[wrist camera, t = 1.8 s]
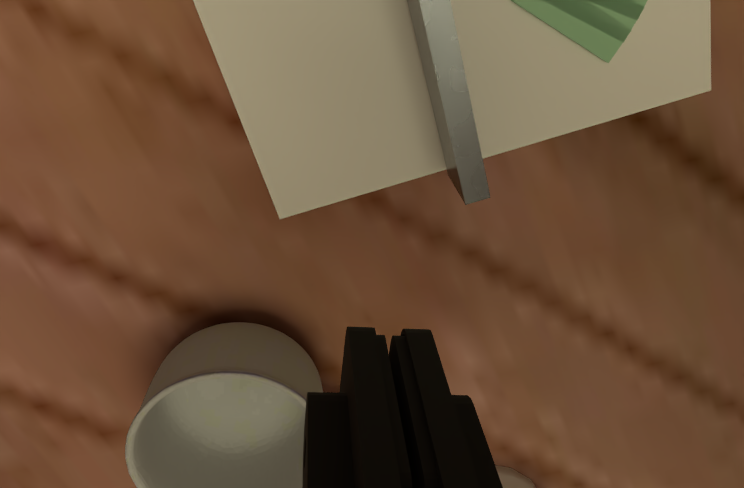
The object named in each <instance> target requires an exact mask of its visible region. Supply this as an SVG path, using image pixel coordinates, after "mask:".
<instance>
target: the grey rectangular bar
mask: <svg viewBox="0 0 744 488" xmlns="http://www.w3.org/2000/svg"><path fill="white" fill-rule="evenodd" d="M407 3H408V7H409V11H410V16H411V20H412V24H413V28H414V32H415V37H416V41H417V45H418V49H419V54H420V58H421V62H422V66H423V71H424V75H425V79H426V83H427V88H428V92H429V96H430V100H431V104H432V109H433V113H434V117H435V121H436V126H437V130H438V134H439V138H440V143H441V147H442V151H443V155H444V160H445V164H446V168H447V172H448V176H449V177H450V179H451V181H452V182H453V184H454V186H455V188H456V189H457V191H458V193H459V194H460V196H461V198H462V200H463V201H464V203H465V205H467V204H470V203H473V202H477V201H480V200H484V199H487V198H490V193H489V188H488V183H487V179H486V174H485V169H484V164H483V159H482V154H481V149H480V144H479V139H478V134H477V129H476V125H475V120H474V115H473V110H472V105H471V100H470V95H469V90H468V85H467V80H466V75H465V71H464V66H463V61H462V56H461V51H460V46H459V41H458V36H457V31H456V26H455V21H454V17H453V12H452V7H451V2H450V0H407Z"/></svg>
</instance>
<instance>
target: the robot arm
mask: <svg viewBox="0 0 744 488" xmlns="http://www.w3.org/2000/svg"><path fill="white" fill-rule="evenodd" d="M302 488H503V487H502V484H501V481H500V478H499V475H498V472H497V470H496V467H495V464H494V461H493V458H492V455H491V453H490V450H489V447H488V444H487V441H486V438H485V436H484V433H483V430H482V427H481V424H480V421H479V419H478V416H477V413H476V410H475V407H474V404H473V402H472V400H471V398H470V397H469V396H468V395H451V393H450V390H449V386H448V383H447V380H446V377H445V374H444V370H443V367H442V364H441V361H440V357H439V354H438V351H437V348H436V345H435V341H434V338H433V335H432V332H431V330H425V329H403V330H402V332H401V336H392V339H391V344H390V351H389V354H388V349H387V344H386V338H385V336H384V335H376V332H375V328H369V327H347V330H346V337H345V346H344V356H343V365H342V374H341V384H340V393H325V392H307V398H306V411H305V425H304V444H303V487H302Z"/></svg>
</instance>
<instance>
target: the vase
mask: <svg viewBox="0 0 744 488" xmlns="http://www.w3.org/2000/svg"><path fill="white" fill-rule="evenodd" d="M495 467H496V470H497V472H498V475H499V478H500V481H501V484H502V487H503V488H536V487H535V485H534V484H533V482H532V480H531V479H529V478H527V477H526V476H524V475H522V474H521V473H519V472H517V471H515V470H514V469H512V468H510V467H503V466H497V465H495Z"/></svg>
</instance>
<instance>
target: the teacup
mask: <svg viewBox="0 0 744 488" xmlns="http://www.w3.org/2000/svg"><path fill="white" fill-rule="evenodd" d="M307 392H323V388H322V383H321V379H320V376H319V373H318V370H317V368H316V366H315V364H314V362H313V361H312V359H311V358H310V356H309V355H308V354H307V352H306V351H305V350H304V349H303V348H302V347H301V346H300V345H299V344H298V343H297V342H295V341H294V340H293V339H292V338H290V337H289V336H287V335H285V334H284V333H282V332H280V331H278V330H275V329H273V328H270V327H267V326H264V325H260V324H255V323H246V322H231V323H223V324H218V325H214V326H211V327H208V328H205V329H202V330H200V331H198V332H196V333H194V334H192V335H190V336H189V337H187V338H186V339H185V340H183V341H182V342H181V343H179V344H178V345H177V346H176V347H175V348H174V349H173V350H172V351H171V352H170V353H169V354H168V355H167V357H166V358H165V359H164V361H163V362H162V364H161V365H160V367H159V369H158V370H157V372H156V374H155V376H154V378H153V380H152V382H151V384H150V386H149V388H148V391H147V393H146V395H145V398H144V400H143V403H142V405H141V408H140V410H139V412H138V413H137V415H136V416H135V418H134V420H133V422H132V424H131V426H130V429H129V432H128V434H127V439H126V446H125V457H126V463H127V467H128V471H129V474H130V476H131V478H132V480H133V482H134V483H135V485H136V487H137V488H302V487H303V444H304V425H305V411H306V398H307Z"/></svg>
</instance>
